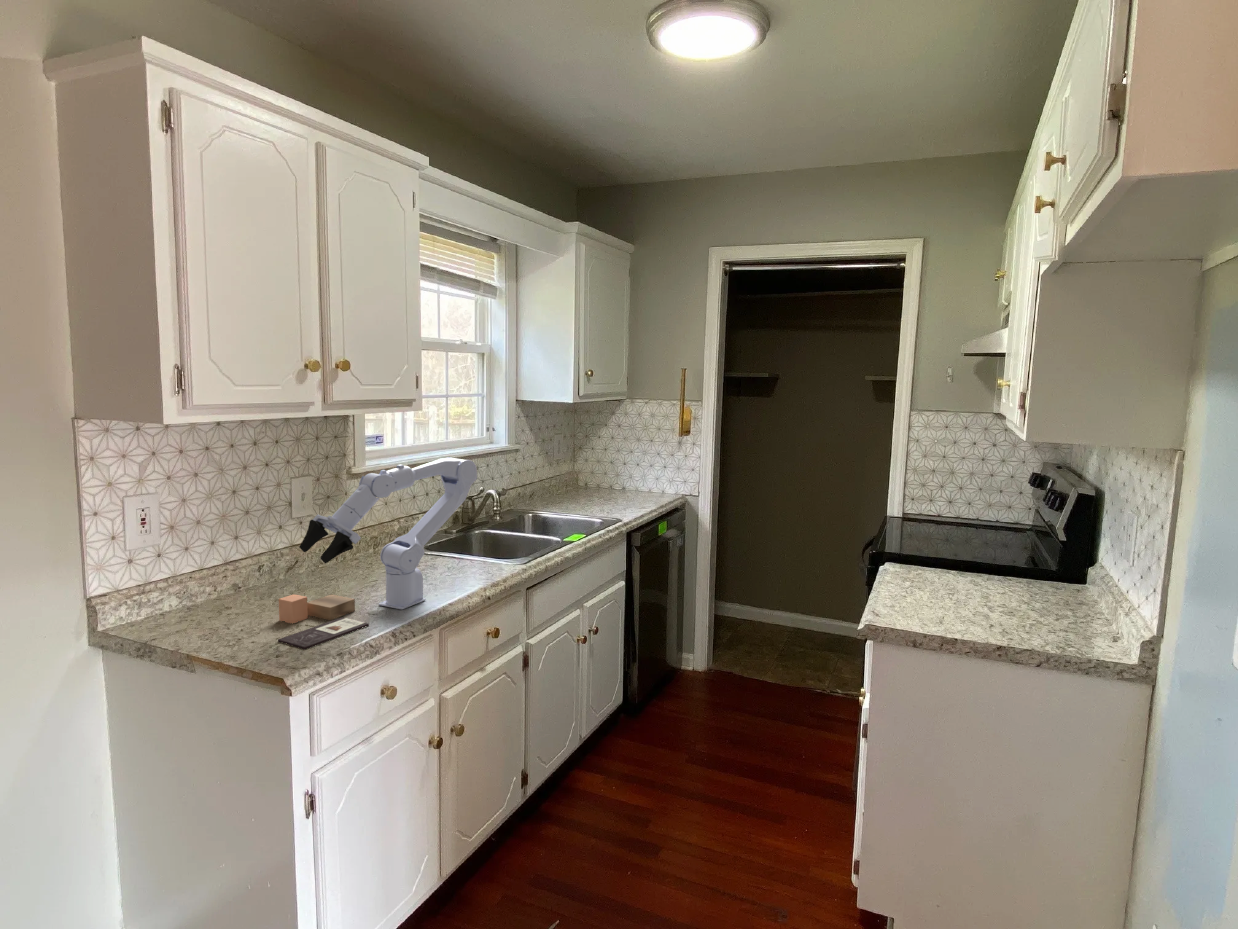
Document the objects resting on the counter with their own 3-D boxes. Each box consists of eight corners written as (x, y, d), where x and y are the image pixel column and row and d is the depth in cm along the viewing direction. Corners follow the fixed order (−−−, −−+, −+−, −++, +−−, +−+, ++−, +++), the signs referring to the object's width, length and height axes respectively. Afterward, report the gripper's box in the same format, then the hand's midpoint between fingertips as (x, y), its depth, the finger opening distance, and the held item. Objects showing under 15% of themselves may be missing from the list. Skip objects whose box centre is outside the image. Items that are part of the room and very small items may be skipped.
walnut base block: (331, 607, 190) (331, 594, 190) (354, 612, 187) (354, 598, 186) (306, 616, 183) (306, 602, 182) (330, 621, 179) (330, 607, 179)
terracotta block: (294, 615, 182) (293, 594, 181) (307, 618, 180) (307, 596, 180) (279, 621, 178) (278, 599, 177) (292, 624, 176) (291, 601, 176)
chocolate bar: (277, 639, 164) (342, 617, 180) (277, 643, 165) (342, 620, 180) (304, 647, 160) (368, 623, 176) (305, 651, 160) (368, 627, 176)
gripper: (324, 493, 180) (284, 535, 174) (364, 512, 174) (324, 556, 167) (337, 510, 185) (299, 551, 179) (377, 529, 179) (338, 573, 172)
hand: (312, 555), depth 173 cm, fingers open, 7 cm apart
